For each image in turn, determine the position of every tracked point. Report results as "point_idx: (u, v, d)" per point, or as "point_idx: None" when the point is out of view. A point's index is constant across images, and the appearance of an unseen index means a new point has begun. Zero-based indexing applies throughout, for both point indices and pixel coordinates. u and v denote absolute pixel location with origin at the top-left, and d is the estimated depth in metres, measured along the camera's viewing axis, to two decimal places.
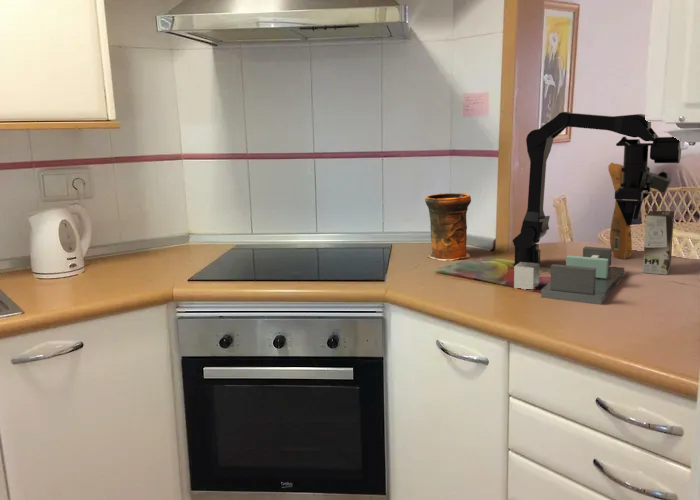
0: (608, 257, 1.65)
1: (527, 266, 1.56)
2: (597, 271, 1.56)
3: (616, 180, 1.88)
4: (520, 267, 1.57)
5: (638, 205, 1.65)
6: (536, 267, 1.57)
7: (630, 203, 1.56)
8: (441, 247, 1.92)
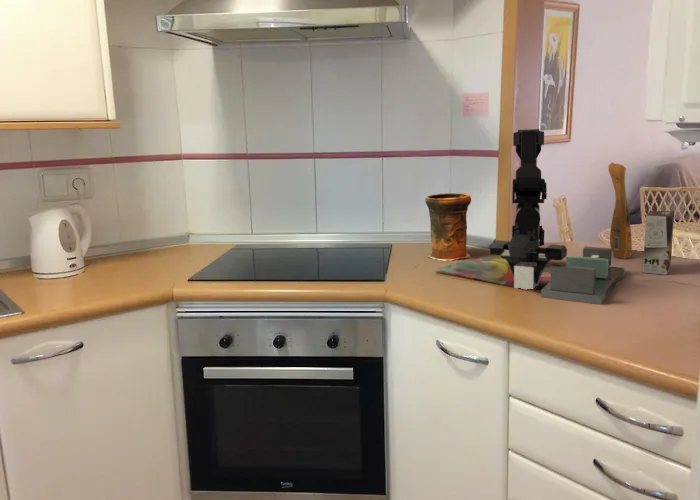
0: (608, 257, 1.65)
1: (527, 266, 1.56)
2: (597, 271, 1.56)
3: (616, 180, 1.88)
4: (520, 267, 1.57)
5: None
6: (536, 267, 1.57)
7: None
8: (441, 247, 1.92)
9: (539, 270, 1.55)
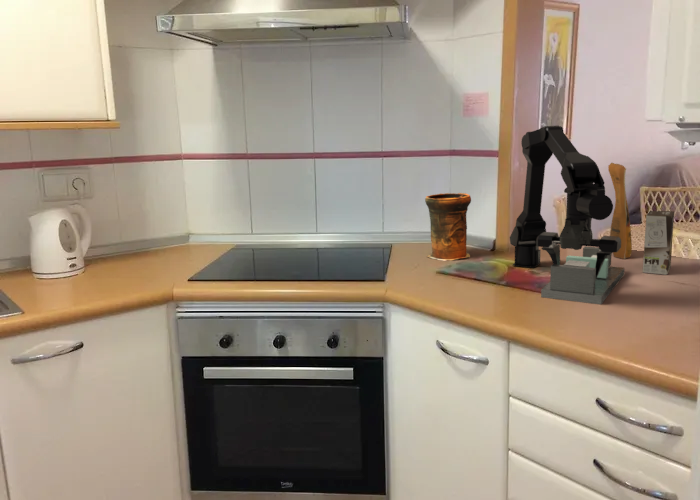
0: (608, 257, 1.65)
1: (578, 265, 1.47)
2: None
3: (616, 180, 1.88)
4: None
5: (596, 263, 1.46)
6: (587, 266, 1.48)
7: None
8: (441, 247, 1.92)
9: (599, 264, 1.45)
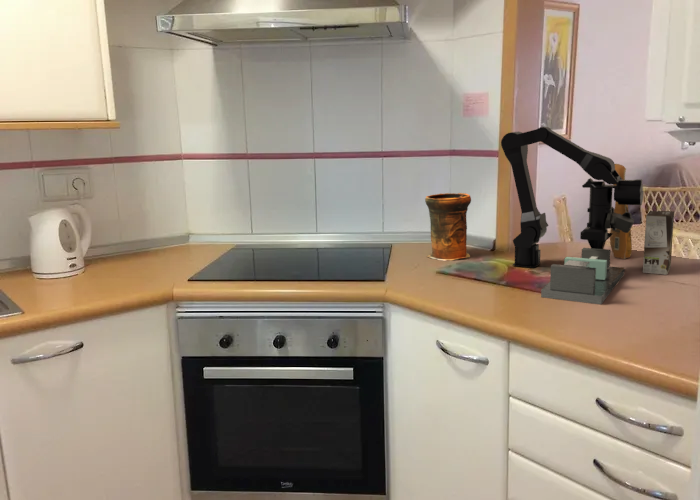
0: (607, 258, 1.64)
1: (578, 265, 1.47)
2: (596, 272, 1.55)
3: None
4: None
5: None
6: (587, 266, 1.48)
7: None
8: (441, 247, 1.92)
9: (604, 245, 1.69)
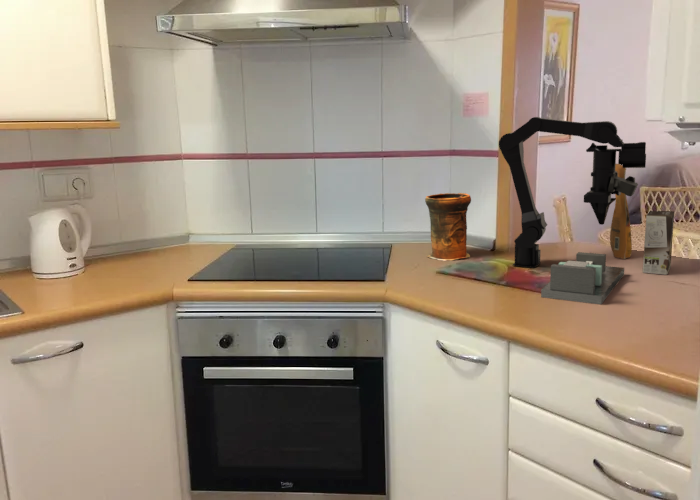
0: (602, 263, 1.59)
1: (577, 265, 1.47)
2: None
3: None
4: None
5: None
6: (587, 266, 1.48)
7: (602, 204, 1.67)
8: (441, 247, 1.92)
9: (607, 210, 1.69)
